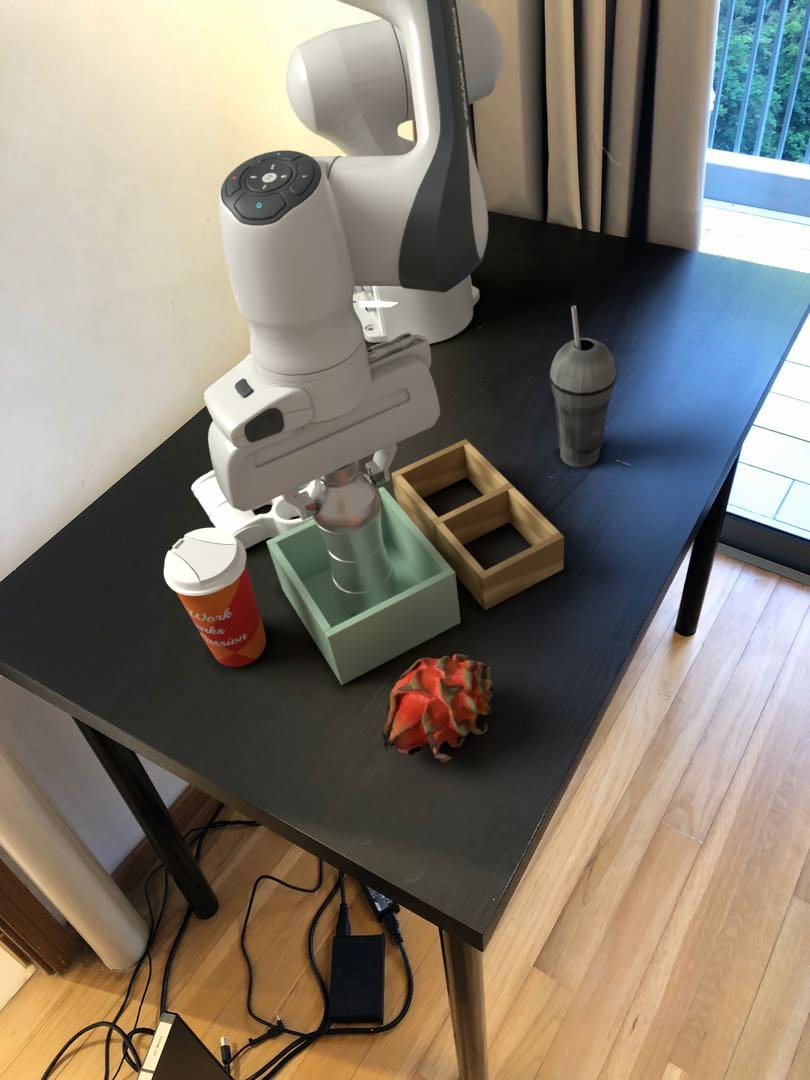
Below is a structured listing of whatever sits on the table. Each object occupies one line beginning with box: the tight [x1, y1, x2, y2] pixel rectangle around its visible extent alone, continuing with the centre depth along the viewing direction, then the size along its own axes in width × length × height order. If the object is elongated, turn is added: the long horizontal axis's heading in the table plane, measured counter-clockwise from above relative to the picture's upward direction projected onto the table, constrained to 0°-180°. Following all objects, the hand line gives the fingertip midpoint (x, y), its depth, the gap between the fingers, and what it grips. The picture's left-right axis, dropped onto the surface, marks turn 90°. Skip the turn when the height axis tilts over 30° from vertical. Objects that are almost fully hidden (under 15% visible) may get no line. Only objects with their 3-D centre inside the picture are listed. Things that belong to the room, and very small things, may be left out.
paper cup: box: [163, 527, 267, 668], centre depth 85 cm, size 8×8×14 cm
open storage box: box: [266, 486, 462, 686], centre depth 88 cm, size 15×14×8 cm
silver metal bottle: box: [311, 460, 397, 615], centre depth 83 cm, size 6×7×20 cm
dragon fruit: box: [382, 653, 495, 764], centre depth 78 cm, size 8×8×12 cm
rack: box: [391, 438, 565, 611], centre depth 95 cm, size 19×10×5 cm, turn 29°
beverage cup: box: [548, 305, 618, 468], centre depth 96 cm, size 7×7×20 cm
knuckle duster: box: [191, 469, 318, 550], centre depth 103 cm, size 3×18×15 cm
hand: (343, 496), depth 80 cm, fingers closed on silver metal bottle, 6 cm apart
